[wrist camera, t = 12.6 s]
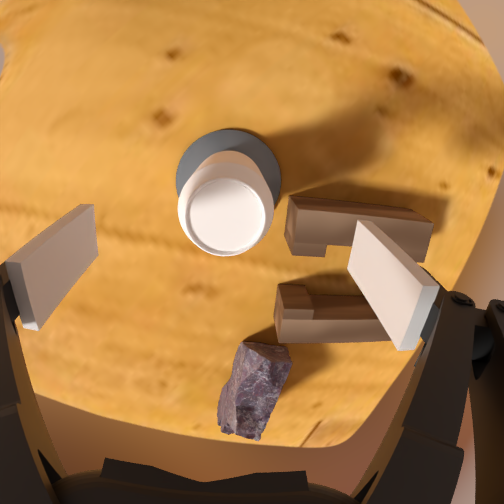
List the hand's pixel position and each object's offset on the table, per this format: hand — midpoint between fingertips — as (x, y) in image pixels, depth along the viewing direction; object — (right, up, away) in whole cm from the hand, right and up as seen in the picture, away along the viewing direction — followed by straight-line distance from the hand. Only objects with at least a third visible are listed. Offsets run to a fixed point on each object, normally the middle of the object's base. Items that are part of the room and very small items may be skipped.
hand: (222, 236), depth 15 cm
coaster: (-1, +6, +15) cm, 16 cm away
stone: (+1, -16, +25) cm, 30 cm away
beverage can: (-1, +6, +15) cm, 16 cm away
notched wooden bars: (+11, -2, +19) cm, 23 cm away
